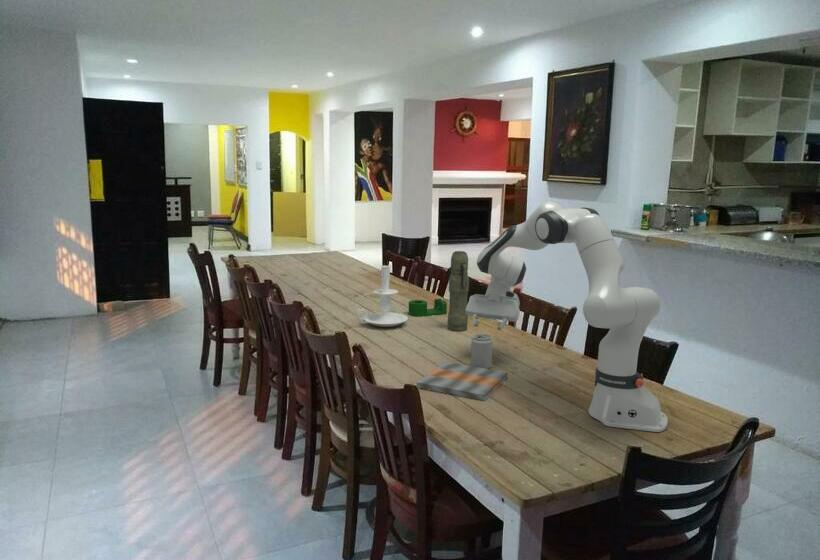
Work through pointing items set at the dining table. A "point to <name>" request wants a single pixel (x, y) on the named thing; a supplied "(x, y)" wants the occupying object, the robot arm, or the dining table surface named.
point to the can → (481, 351)
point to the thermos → (458, 292)
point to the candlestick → (384, 305)
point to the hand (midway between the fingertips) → (487, 327)
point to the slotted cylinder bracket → (420, 308)
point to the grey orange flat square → (463, 380)
